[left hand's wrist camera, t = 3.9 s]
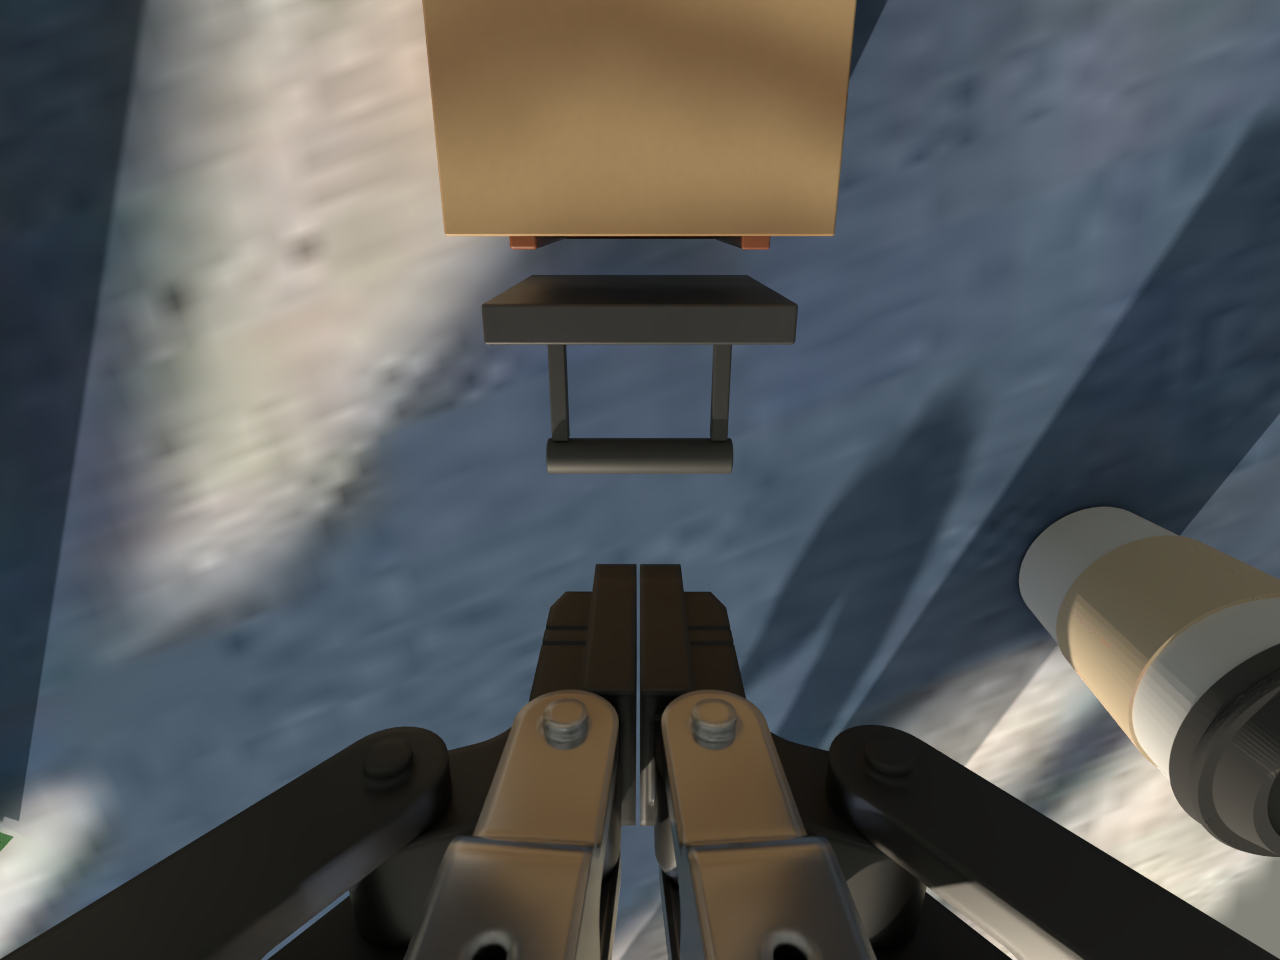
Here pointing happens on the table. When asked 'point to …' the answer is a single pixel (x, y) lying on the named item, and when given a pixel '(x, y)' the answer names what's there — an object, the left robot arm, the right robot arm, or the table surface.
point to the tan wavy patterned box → (639, 115)
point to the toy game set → (4, 840)
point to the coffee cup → (1173, 658)
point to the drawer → (639, 318)
